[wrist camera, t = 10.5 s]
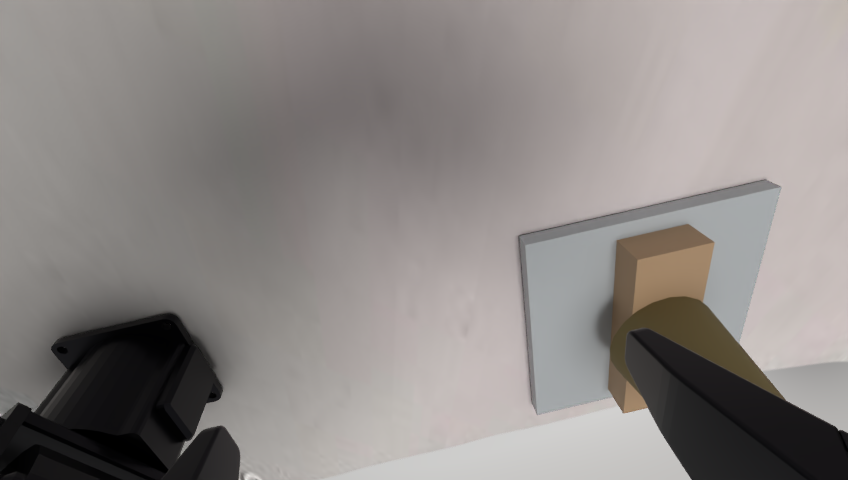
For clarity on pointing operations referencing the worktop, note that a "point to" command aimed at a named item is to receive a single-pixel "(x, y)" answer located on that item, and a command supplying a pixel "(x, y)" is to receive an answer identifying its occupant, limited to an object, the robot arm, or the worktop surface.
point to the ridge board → (589, 275)
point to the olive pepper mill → (689, 338)
